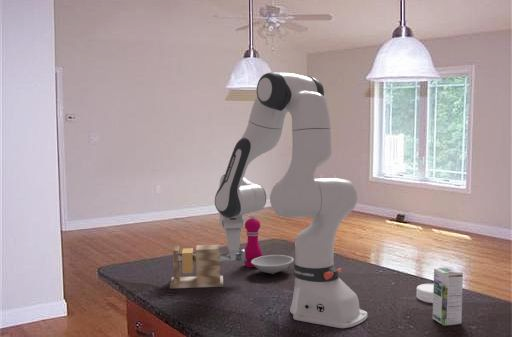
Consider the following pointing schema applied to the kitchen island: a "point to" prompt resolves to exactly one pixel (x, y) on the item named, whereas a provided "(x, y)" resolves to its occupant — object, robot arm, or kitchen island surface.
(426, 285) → the white round disc
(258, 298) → the kitchen island surface
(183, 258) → the block
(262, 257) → the dish
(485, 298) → the kitchen island surface
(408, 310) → the kitchen island surface
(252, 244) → the pepper mill
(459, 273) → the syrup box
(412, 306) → the kitchen island surface
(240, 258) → the shaft
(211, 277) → the bracket
